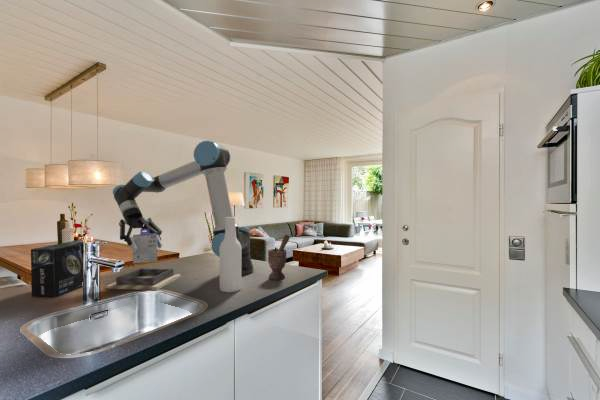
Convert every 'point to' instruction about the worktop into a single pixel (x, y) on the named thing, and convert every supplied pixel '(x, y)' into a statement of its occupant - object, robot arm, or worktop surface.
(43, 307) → the worktop surface
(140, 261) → the ink cartridge box
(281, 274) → the mortar and pestle
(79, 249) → the box
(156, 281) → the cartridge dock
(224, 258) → the alcohol
